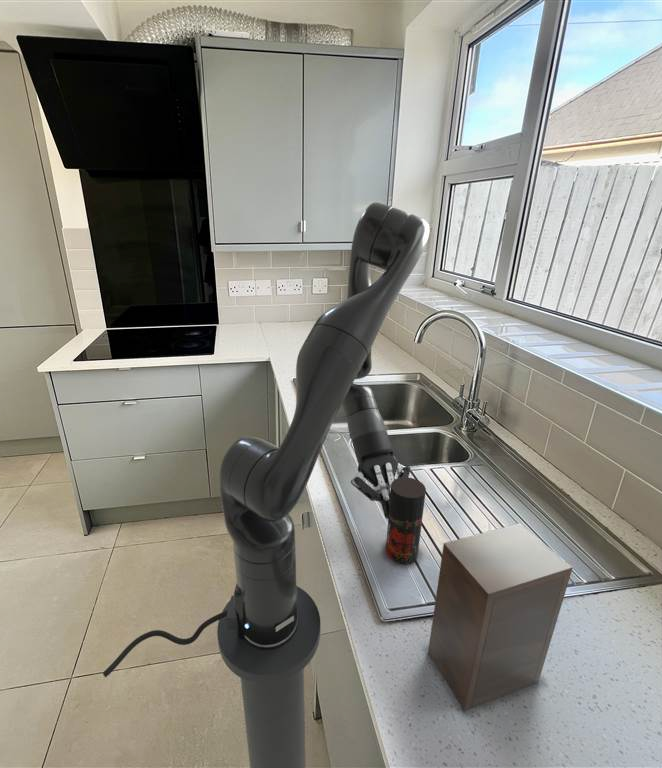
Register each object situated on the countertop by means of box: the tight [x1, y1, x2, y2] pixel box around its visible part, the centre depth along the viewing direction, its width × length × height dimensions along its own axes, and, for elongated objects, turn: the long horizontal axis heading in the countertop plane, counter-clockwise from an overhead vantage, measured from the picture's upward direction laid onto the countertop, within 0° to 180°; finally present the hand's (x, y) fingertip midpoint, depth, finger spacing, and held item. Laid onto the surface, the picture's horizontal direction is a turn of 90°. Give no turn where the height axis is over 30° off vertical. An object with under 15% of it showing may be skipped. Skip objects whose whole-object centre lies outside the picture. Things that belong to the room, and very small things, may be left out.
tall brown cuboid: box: [427, 522, 573, 712], centre depth 53 cm, size 8×12×20 cm
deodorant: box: [385, 477, 427, 566], centre depth 74 cm, size 6×6×15 cm
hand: (394, 520), depth 78 cm, fingers closed
